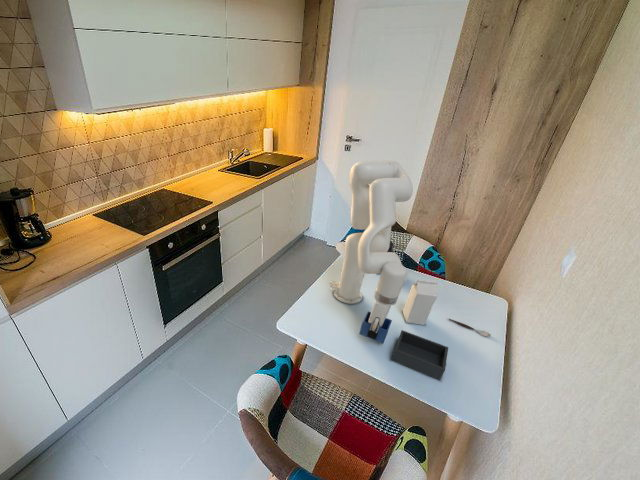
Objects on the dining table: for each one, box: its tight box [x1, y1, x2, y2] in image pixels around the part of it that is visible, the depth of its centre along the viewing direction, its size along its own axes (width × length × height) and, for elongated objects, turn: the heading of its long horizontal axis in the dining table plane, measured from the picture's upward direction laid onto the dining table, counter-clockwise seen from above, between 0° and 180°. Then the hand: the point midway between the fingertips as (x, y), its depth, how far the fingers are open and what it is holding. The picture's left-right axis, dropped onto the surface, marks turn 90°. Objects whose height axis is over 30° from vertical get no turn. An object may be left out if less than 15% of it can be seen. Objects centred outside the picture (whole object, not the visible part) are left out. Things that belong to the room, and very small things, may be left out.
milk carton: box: [402, 279, 439, 326], centre depth 129 cm, size 7×7×19 cm
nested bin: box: [358, 310, 393, 344], centre depth 121 cm, size 9×7×6 cm
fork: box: [448, 318, 488, 337], centre depth 128 cm, size 3×16×2 cm, turn 49°
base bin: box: [390, 330, 449, 381], centre depth 114 cm, size 16×12×5 cm
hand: (374, 331), depth 122 cm, fingers closed on nested bin, 7 cm apart
